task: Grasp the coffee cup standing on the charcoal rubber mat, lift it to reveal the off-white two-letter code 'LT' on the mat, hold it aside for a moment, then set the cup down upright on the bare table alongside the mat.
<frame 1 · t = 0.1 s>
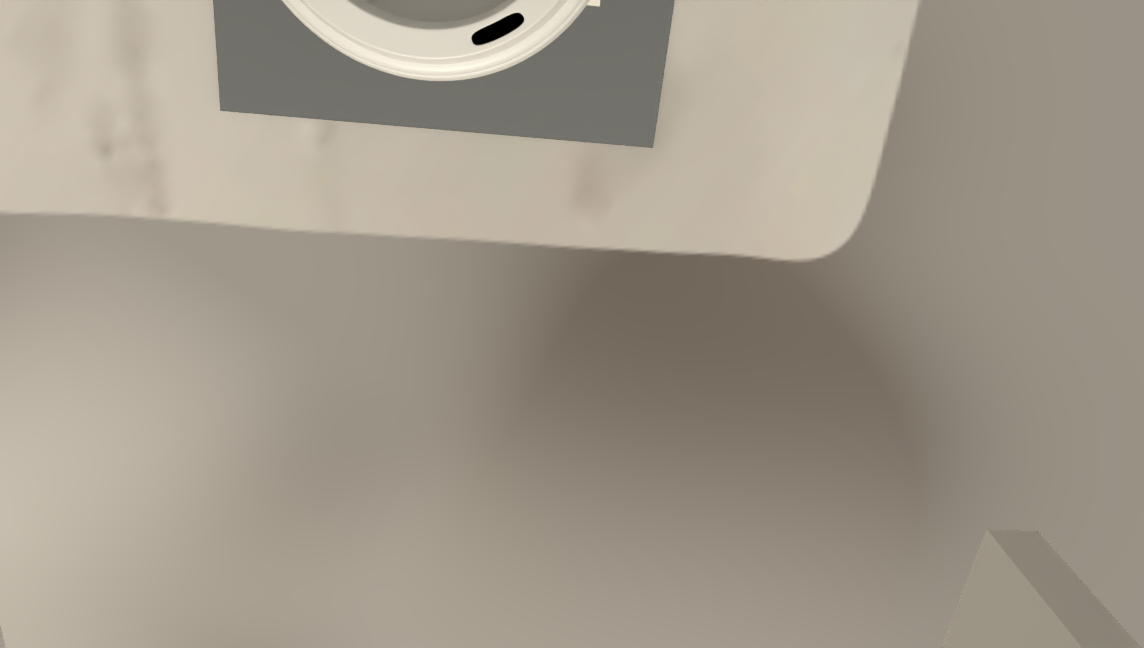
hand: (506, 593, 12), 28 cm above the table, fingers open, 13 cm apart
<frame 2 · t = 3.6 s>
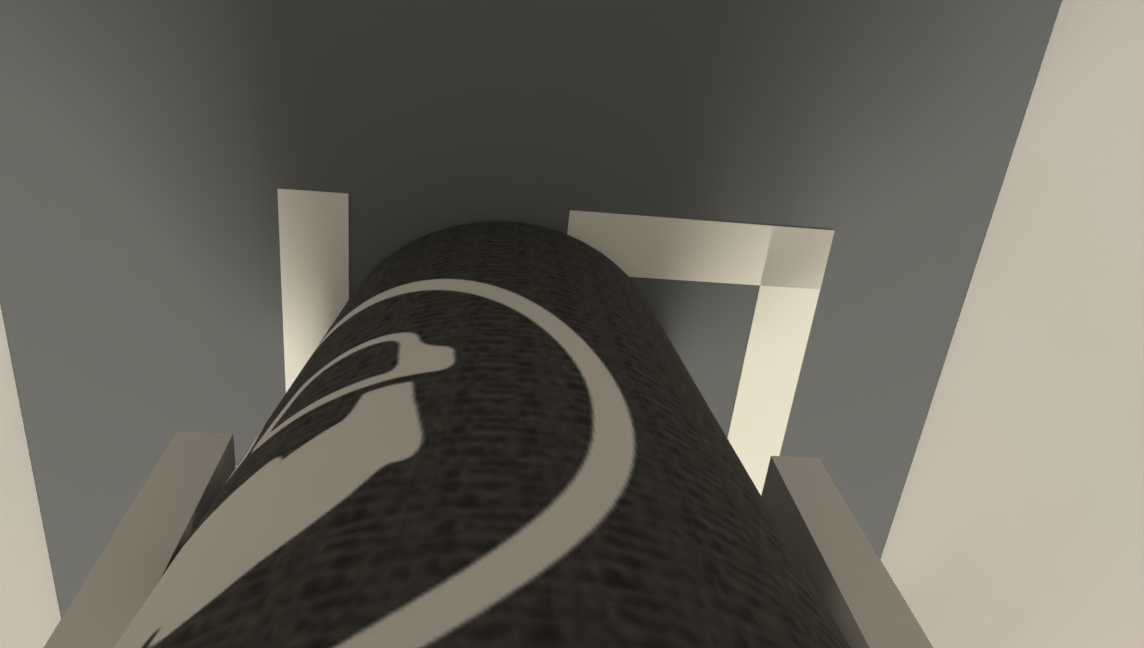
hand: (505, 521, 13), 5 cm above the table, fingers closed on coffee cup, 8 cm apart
code mat: (500, 369, 17), on the table
coffee cup: (500, 373, 17), resting on code mat, touching gripper
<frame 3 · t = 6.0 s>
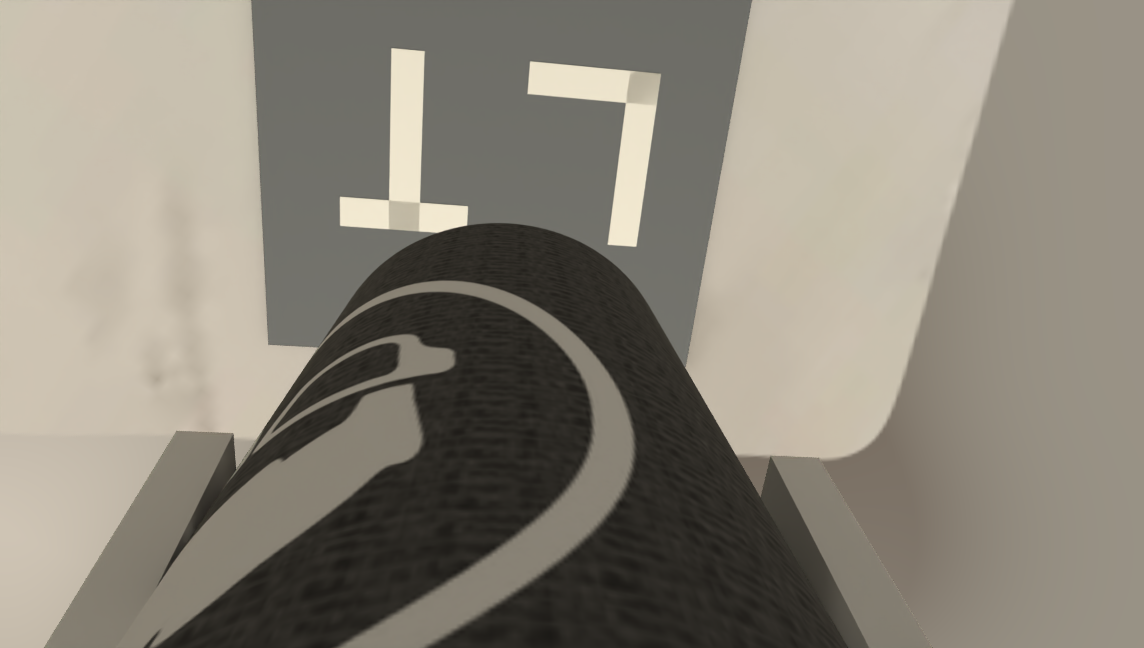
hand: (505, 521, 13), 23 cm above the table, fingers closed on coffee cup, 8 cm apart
code mat: (497, 149, 34), on the table
coffee cup: (500, 375, 17), point 19 cm above the table, touching gripper
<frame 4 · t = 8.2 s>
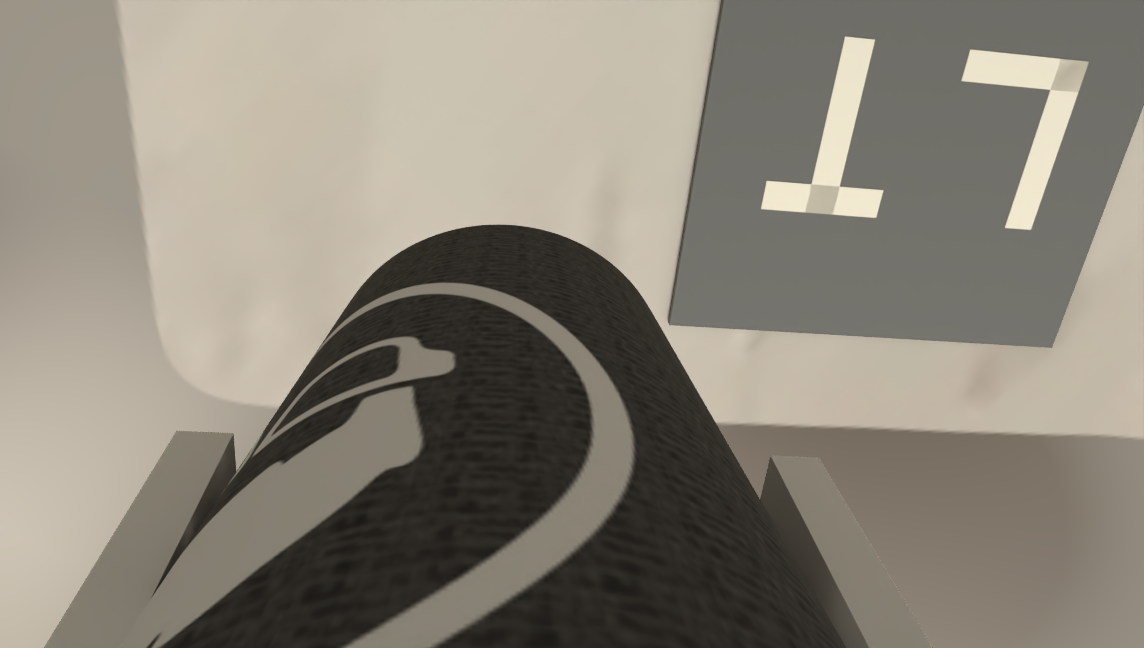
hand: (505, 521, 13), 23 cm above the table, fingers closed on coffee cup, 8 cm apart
code mat: (917, 135, 35), on the table
coffee cup: (500, 376, 17), point 19 cm above the table, touching gripper
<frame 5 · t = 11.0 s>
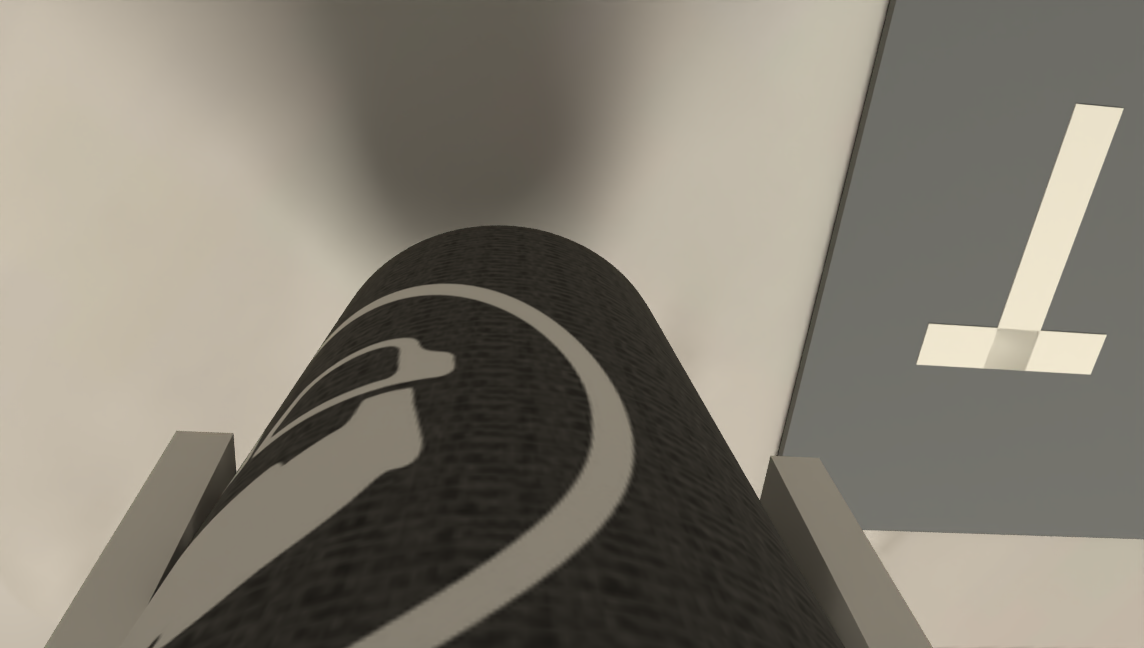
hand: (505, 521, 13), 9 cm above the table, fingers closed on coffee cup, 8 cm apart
coffee cup: (500, 377, 17), point 5 cm above the table, touching gripper
when the fingers open (5 cm above the table, at t = 13.1 s): coffee cup stays where it is, on the table.
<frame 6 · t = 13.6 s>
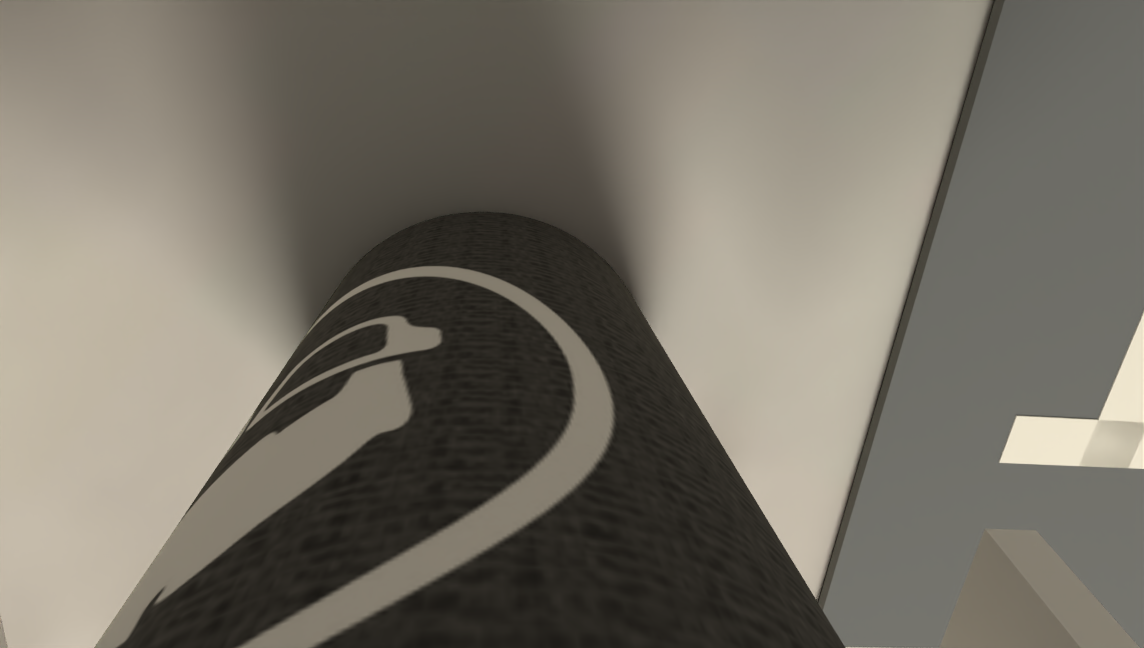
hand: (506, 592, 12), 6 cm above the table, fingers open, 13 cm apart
coffee cup: (485, 362, 17), on the table
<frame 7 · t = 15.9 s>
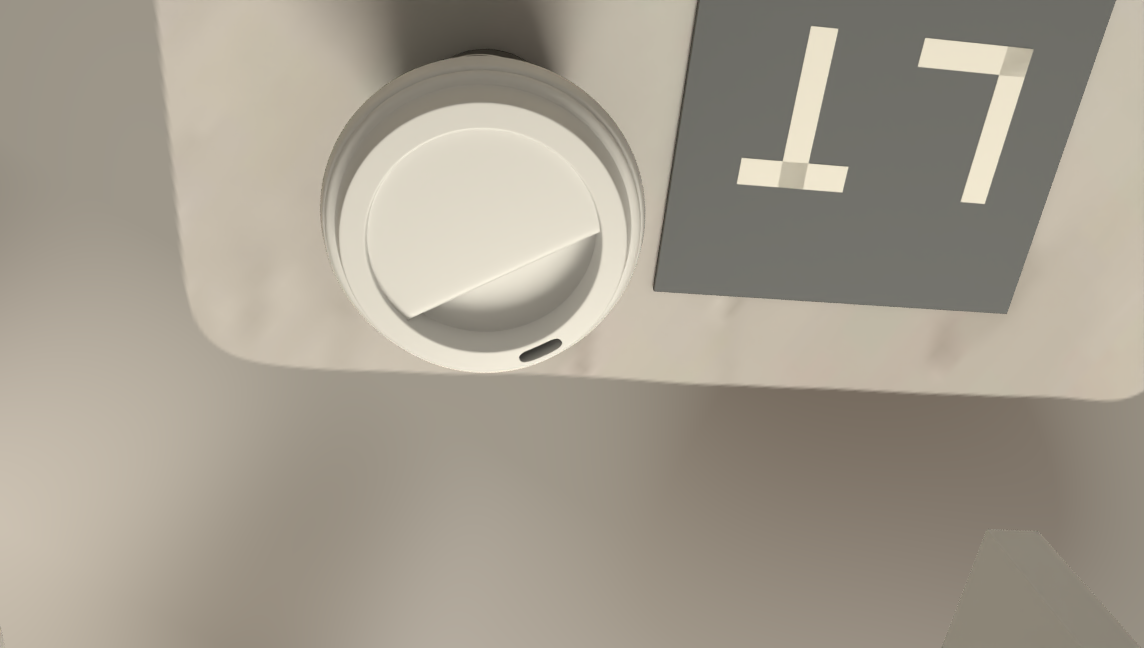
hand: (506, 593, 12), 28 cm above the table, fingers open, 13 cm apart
code mat: (879, 116, 38), on the table
coffee cup: (487, 126, 37), on the table
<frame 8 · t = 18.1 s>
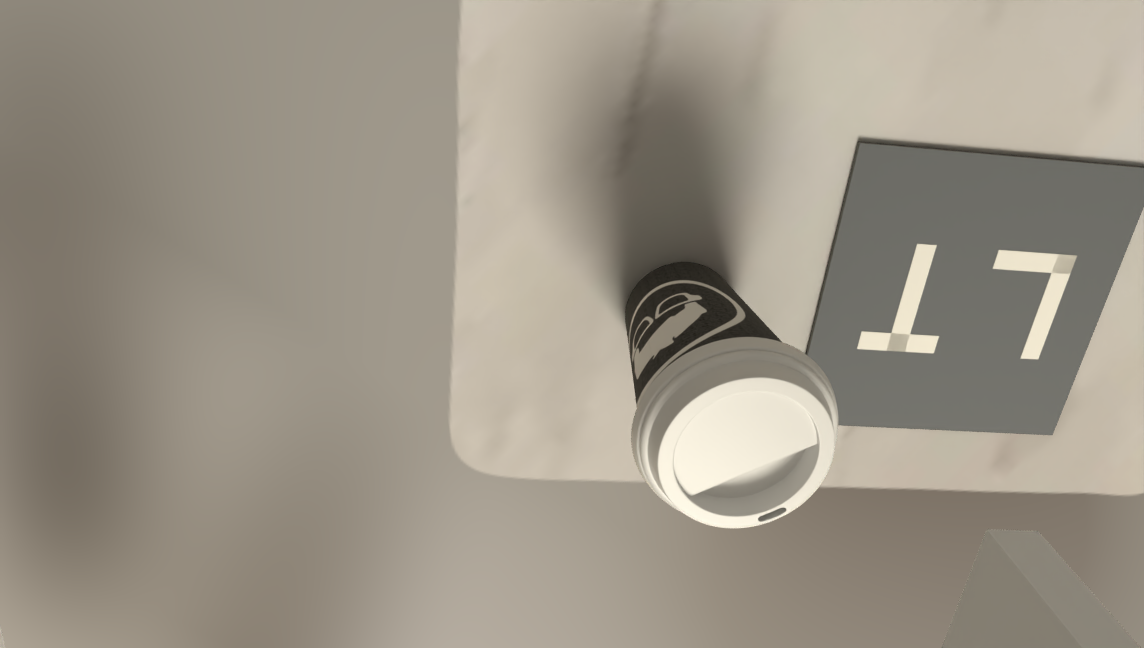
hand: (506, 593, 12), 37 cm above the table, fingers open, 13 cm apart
code mat: (962, 300, 52), on the table
coffee cup: (678, 311, 51), on the table
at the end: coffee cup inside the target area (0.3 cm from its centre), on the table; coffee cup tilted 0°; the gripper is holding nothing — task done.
